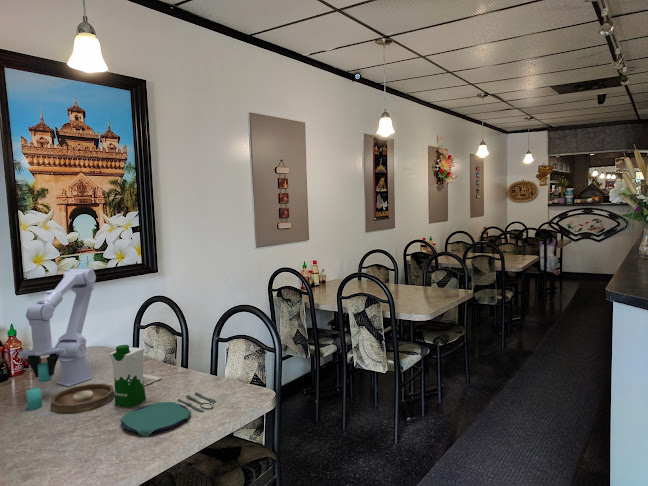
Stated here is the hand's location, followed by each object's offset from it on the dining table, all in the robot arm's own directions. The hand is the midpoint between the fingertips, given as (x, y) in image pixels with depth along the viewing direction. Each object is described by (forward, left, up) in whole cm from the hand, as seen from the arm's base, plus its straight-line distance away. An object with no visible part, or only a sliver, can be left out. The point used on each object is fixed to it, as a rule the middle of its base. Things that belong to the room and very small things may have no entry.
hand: (44, 375), depth 168 cm
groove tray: (-4, +16, -8) cm, 18 cm away
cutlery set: (-11, +52, -8) cm, 54 cm away
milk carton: (-11, +32, -8) cm, 35 cm away
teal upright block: (0, 0, -2) cm, 2 cm away
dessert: (-25, +18, -8) cm, 32 cm away
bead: (+7, +6, -8) cm, 12 cm away
